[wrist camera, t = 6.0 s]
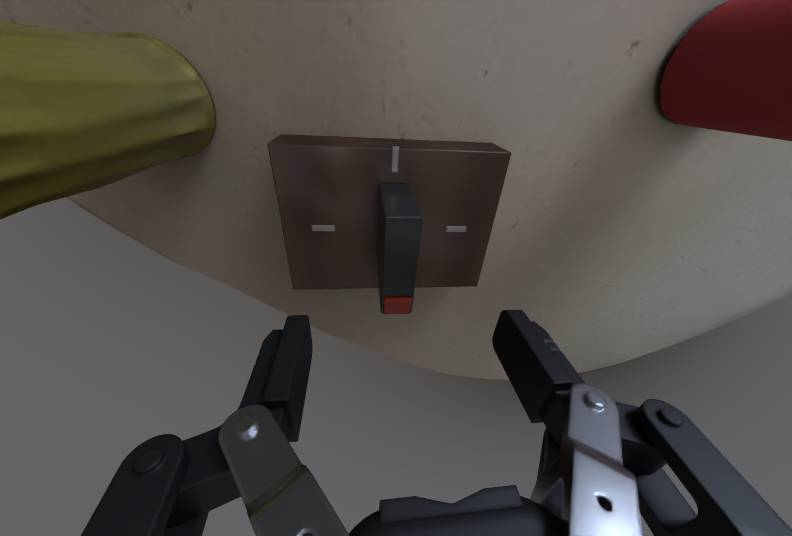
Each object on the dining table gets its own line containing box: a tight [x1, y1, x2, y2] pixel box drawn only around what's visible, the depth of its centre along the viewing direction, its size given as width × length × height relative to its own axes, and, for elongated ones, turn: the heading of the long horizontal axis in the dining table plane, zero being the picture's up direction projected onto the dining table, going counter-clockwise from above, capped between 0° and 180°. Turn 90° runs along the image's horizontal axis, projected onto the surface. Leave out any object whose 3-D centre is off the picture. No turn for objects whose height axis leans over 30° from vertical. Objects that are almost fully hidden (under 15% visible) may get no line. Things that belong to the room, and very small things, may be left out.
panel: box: [268, 134, 511, 289], centre depth 20 cm, size 14×10×3 cm
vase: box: [0, 22, 215, 219], centre depth 11 cm, size 6×6×14 cm
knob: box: [377, 183, 423, 314], centre depth 17 cm, size 6×2×5 cm, turn 177°
